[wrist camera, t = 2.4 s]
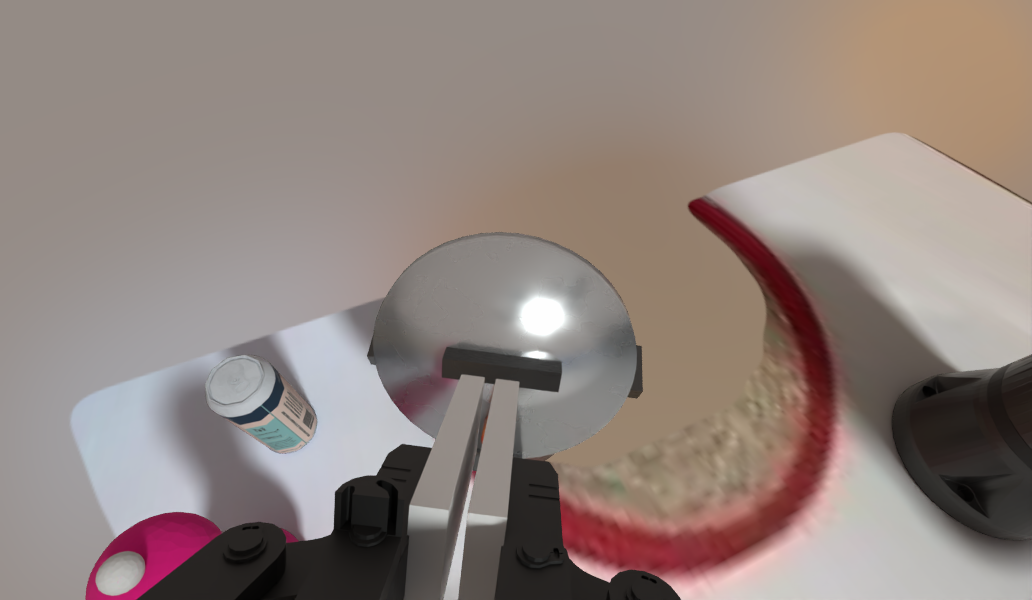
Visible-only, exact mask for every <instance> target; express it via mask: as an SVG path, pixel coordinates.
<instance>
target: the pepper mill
mask: <svg viewBox="0 0 1032 600" xmlns="http://www.w3.org/2000/svg"><path fill="white" fill-rule="evenodd" d="M281 529H282V528H281ZM282 530H283V532H284V534H285V536H286V543H290V542H299V541H298V540H297V539H296V538H295V537H294V536H293V535H292V534H291V533H290V532H288V531H286V530H284V529H282ZM222 533H223V532H222V531H220V529H219V528H218V527H217V526H216V525H215V524H214V523H213V522H211V521H209V520H208V519H206V518H204V517H202V516H199V515H197V514H192V513H184V512H172V513H164V514H160V515H157V516H153V517H150V518H148V519H145V520H143V521H140V522H138V523H137V524H135V525H134V526H132V527H131V528H129V529H127V530H126V531H124V532H123V533H122V534H120V535H119V536H118V537H117V538H116V539H114V540H113V541H112V542H111V543H110V545H109V546H108V547H107V548H106V549H105V551H104V552H103V553H102V555H101V556H100V558H99V559H98V561H97V562H96V564H95V567H94V568H93V570H92V572H91V574H90V577H89V581H88V584H87V588H86V600H136V599H138V598H139V597H140V596H141V595H143V594H144V593H145V592H146V591H148V590H149V589H150V588H152V587H153V586H154V585H155V584H157V583H158V582H159V581H160V580H162V579H163V578H164V577H166V576H167V575H168V574H169V573H171V572H172V571H173V570H174V569H176V568H177V567H178V566H180V565H181V564H182V563H183V562H185V561H186V560H187V559H189V558H190V557H191V556H192V555H194V554H195V553H196V552H197V551H199V550H200V549H201V548H203V547H204V546H205V545H206V544H208V543H209V542H210V541H211V540H213V539H214V538H215V537H217V536H218V535H220V534H222Z"/></svg>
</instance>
